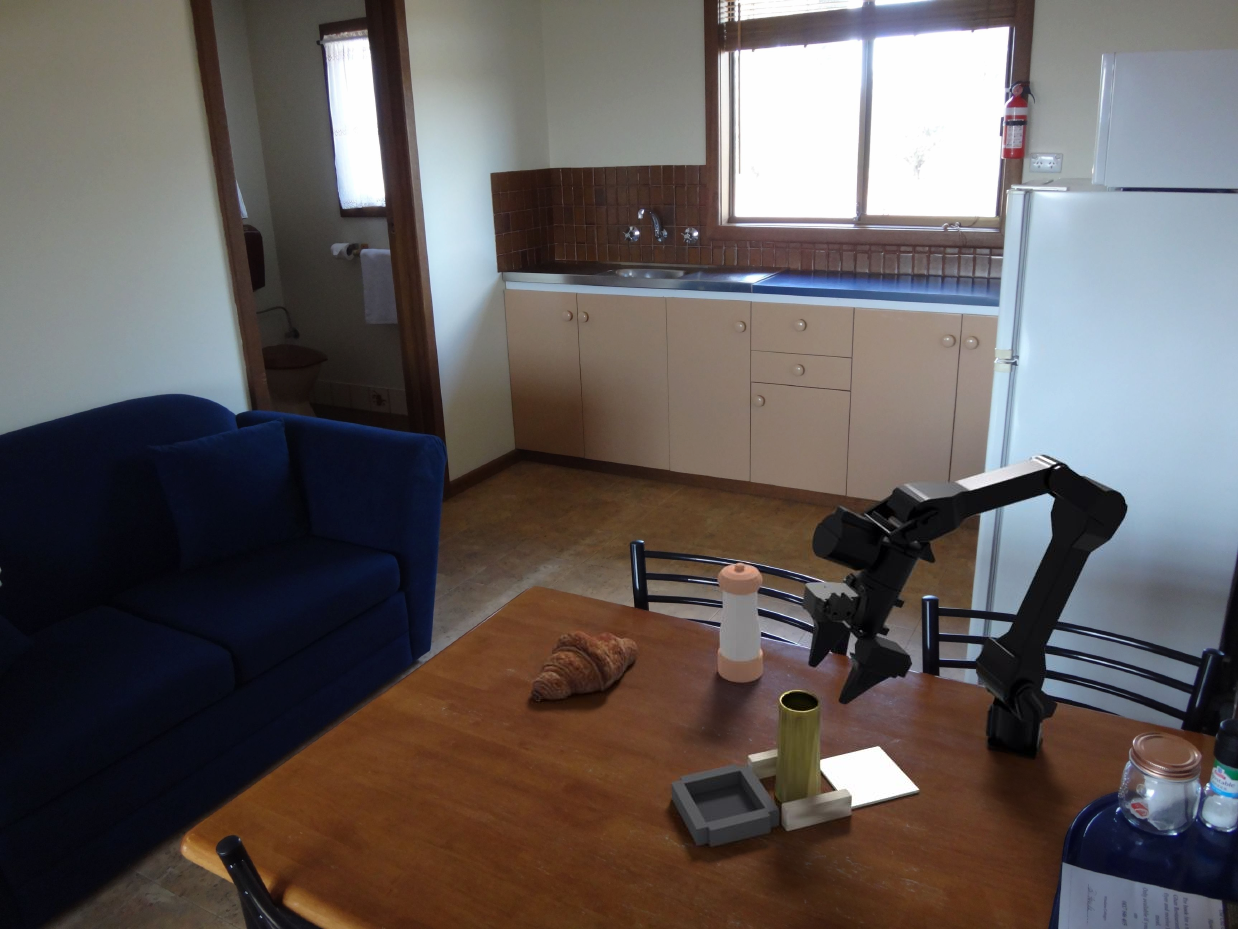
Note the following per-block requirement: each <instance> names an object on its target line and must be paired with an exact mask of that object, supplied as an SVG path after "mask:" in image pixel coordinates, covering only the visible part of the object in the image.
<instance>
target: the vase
mask: <svg viewBox="0 0 1238 929" xmlns="http://www.w3.org/2000/svg"><path fill="white" fill-rule="evenodd" d="M777 728H778V731H777V732H778V734H777V748H776V749H777V765H776V775H775V782H774V783H775V784H774V790H773V791H774V795H775V797H776V799H777V800H778V801H779V802H780V803H781V804H783V803H787V802H792V801H796V800H800V799H804V798H808V797H812V796H816V795H820V794H822V788H821V786H822V785H821V783H822V780H821V779H822V778H821V775H822V773H821V769H820V760H821V699H820V698H819V697H818V696H817V694H815V693H814V692H813V693H812V692H810V691H807V690H803V689H791V690H788V691H786V692H784V693H782V694H781V695H780V696H779V698H778V727H777Z"/></svg>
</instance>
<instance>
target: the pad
mask: <svg viewBox="0 0 1238 929" xmlns="http://www.w3.org/2000/svg"><path fill="white" fill-rule="evenodd" d="M820 769H821V775H823V776H824V777H825V779H826V780H827V781H828V783H829V784H830V785H831V786H832V787H833V789H834V791H837V790H841V789H845V788H846V789H847V790H848V791H849V792H850V794H851V795H852V809H851V810H854V809H857V808H861V807H866V806H870V805H873V804H877V803H881V802H885V801H890V800H893V799H896V798H898V799H899V798H901V797H905V796H909V795H914V794H917V793H920V789H919V787H918V786H917V785H915V783H914V782H913V781H912V780H911V779H910V778H909V777H908V776H907V775H906V774H905V772H904V771H902V770H901V768H900V767H899V766H898V765H897V763H895V761H894V760H893V759H891V758H890V756H888V754H887V753H886V752H885V751H884V750H883V749H882V748H881V747H880V746H874V747H870V748H865V749H860V750H857V751H851V752H849V753H848V752H847V753H845V754H841V755H840V754H839V755H835V756H832V757H831V756H830V757H828V758H823V759H820Z"/></svg>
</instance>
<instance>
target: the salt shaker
mask: <svg viewBox="0 0 1238 929" xmlns="http://www.w3.org/2000/svg"><path fill="white" fill-rule="evenodd" d="M717 583H718V585H719V587H720V589H721V590H722V615H721V621H720V628H719V634H718V635H719V648H718V650H717V672H718V674H719V676H720V677H721V678H723V679H724V680H726V681H729V682H732V683H733V682H734V683H750V682H753V681H756V680H758V679H759V678H761V676H762V675H763V671H764V670H763V668H764V662H763V660H764V656H763V655H764V653H763V650H762V648H761V643H762V642H761V640H762V636H761V635H762V630H761V625H760V620H759V612H758V591H759V589H760V588H761V586H762V585H763V576H762V574H761V573H760V571H759V570H758V569H757V567H755V566H752V565H750V564H745V563H743V562H738V563H735V564H730V565H727V566H725V567H723V568H722V569H721V571H720V572H719V573H718V576H717Z"/></svg>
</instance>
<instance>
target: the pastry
mask: <svg viewBox="0 0 1238 929" xmlns="http://www.w3.org/2000/svg"><path fill="white" fill-rule="evenodd" d="M638 649H639V648H638V646H637V644H636V642H635V641H634V640H632V639H631V638H627V637H624V638H622V639H621V638H620V637H617V636H615V635H614V634H612V633H611V632H603V633H600V634H597V635H594V636H590V635H589V634H587V633H585V632H583V631H578V630H575V631H569V632H565V633H563V634H561V636H560V638H559V639H558V640H557V642H556V643H555V645H554V646H553V647H552V650H551V655H550V656H548V657H547V658H546V659H545V660H544V662H542V665H541V668H540V671H539V673H538V676H537V677H536V678H535V680H534V681H533V683H532V688H531V691H530V694H531V696H532V698H533V700H534V701H536V700H537V701H536V702H539V701H538V700H542V699H549V700H548V701H559V699H561V700H564V699H566V698H565V697H567V698H569V697H568V696H570V695H571V696H572V694H574V695H588V694H592V693H596V692H605V691H606V690H607V689H609V688H610V687H611V686H612V684H614V683H616V682H618V681H617V680H620V678H621V677H622V676H623V674H624V673H625V671H626V670H627V668H628V667H629V666H631V665H632V664H633V663H634V662H635V660H636V658H637V656H638V651H639V650H638ZM595 691H596V692H595ZM591 692H592V693H591ZM576 693H577V694H576ZM587 693H588V694H587ZM571 696H570V697H571ZM563 698H564V699H563ZM542 701H543V700H542Z"/></svg>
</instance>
